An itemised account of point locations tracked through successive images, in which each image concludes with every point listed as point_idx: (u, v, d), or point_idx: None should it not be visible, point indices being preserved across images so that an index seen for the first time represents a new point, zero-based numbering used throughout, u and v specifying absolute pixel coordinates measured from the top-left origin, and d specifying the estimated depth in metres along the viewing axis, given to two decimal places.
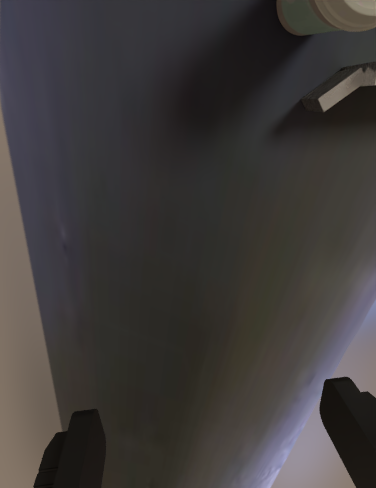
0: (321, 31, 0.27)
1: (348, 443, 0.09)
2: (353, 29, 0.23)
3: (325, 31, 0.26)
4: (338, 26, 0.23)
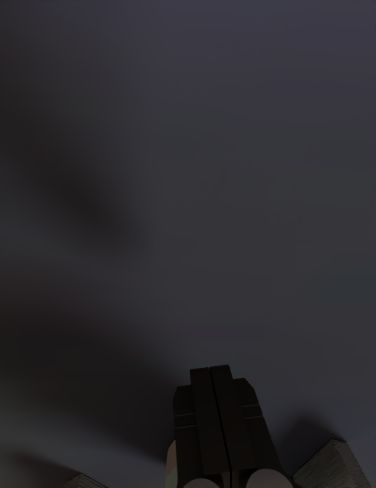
0: None
1: None
2: None
3: None
4: None
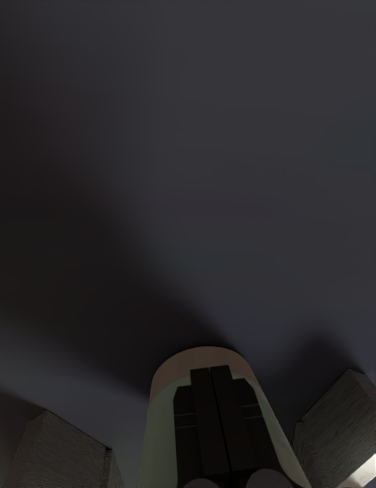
0: None
1: None
2: None
3: None
4: None
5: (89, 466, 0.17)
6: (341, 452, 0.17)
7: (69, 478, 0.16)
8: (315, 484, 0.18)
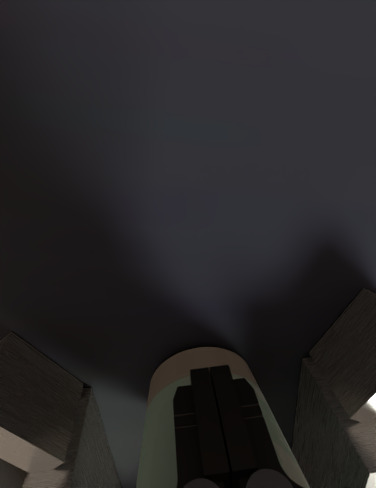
0: None
1: None
2: None
3: None
4: None
5: (62, 398, 0.15)
6: (357, 377, 0.14)
7: (35, 405, 0.13)
8: (326, 421, 0.15)
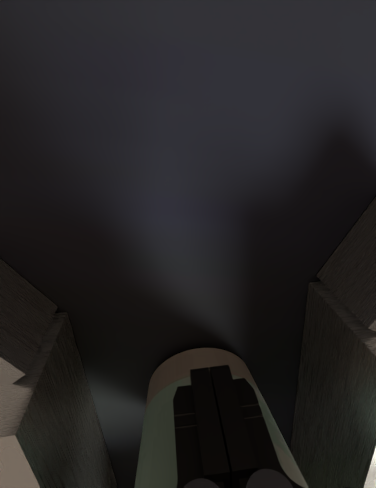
0: None
1: None
2: None
3: None
4: None
5: (28, 312, 0.12)
6: (375, 283, 0.12)
7: None
8: (338, 342, 0.13)
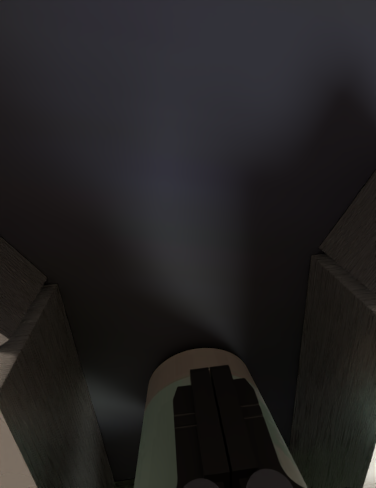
0: None
1: None
2: None
3: None
4: None
5: (15, 279, 0.12)
6: None
7: None
8: (342, 313, 0.12)
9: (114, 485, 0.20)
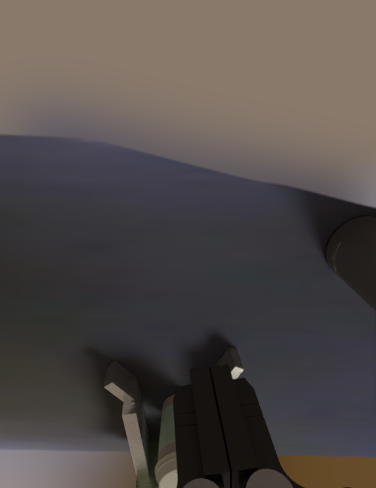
0: None
1: None
2: (155, 471, 0.42)
3: (159, 439, 0.46)
4: (156, 465, 0.42)
5: (130, 381, 0.46)
6: None
7: (125, 383, 0.45)
8: None
9: (149, 439, 0.55)
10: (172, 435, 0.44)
